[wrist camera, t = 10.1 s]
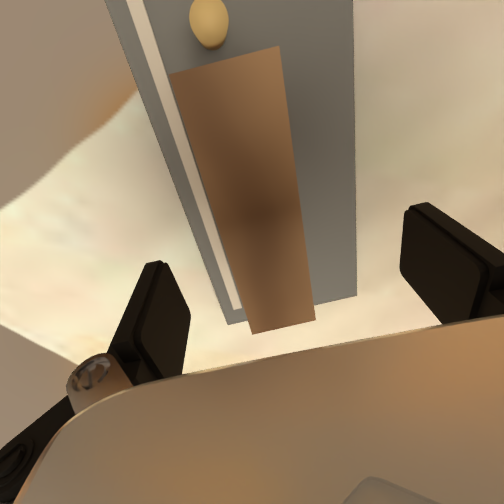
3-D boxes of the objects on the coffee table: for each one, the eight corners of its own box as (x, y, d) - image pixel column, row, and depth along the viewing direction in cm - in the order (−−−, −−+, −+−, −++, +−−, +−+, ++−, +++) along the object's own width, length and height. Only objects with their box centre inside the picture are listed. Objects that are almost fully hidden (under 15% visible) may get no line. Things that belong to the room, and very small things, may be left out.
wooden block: (254, 55, 17) (279, 45, 10) (288, 250, 24) (315, 320, 18) (187, 72, 17) (167, 74, 10) (242, 261, 24) (251, 334, 18)
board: (340, -149, 14) (416, -283, 8) (352, 287, 29) (381, 335, 24) (81, -76, 14) (1, -162, 9) (227, 316, 29) (229, 369, 24)
